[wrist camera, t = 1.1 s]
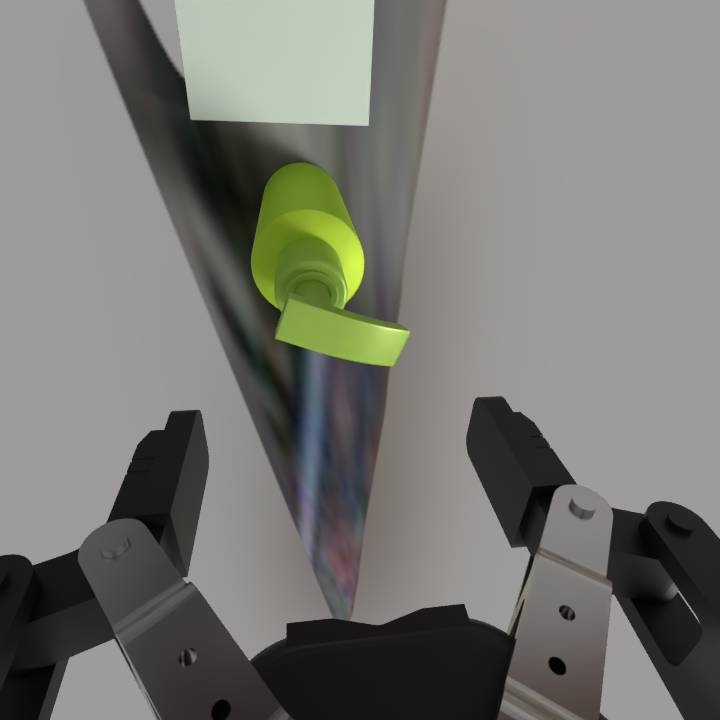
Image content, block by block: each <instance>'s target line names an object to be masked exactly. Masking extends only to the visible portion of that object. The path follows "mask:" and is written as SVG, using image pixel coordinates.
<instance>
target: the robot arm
mask: <svg viewBox="0 0 720 720" xmlns="http://www.w3.org/2000/svg"><path fill="white" fill-rule="evenodd" d="M466 438H467V439H466V444H467V451H468V455H469V457H470V459H471V462H472V464H473V466H474V468H475V470H476V472H477V474H478V477H479V479H480V481H481V483H482V485H483V488H484V489H485V492H486V494H487V496H488V498H489V500H490V503H491V505H492V507H493V509H494V511H495V513H496V515H497V518H498V520H499V522H500V524H501V526H502V528H503V530H504V533H505V535H506V537H507V539H508V541H509V543H510V545H511V547H512V548H515V547H526V546H527V548H528V550H529V552H530V557H529V560H528V563H527V566H526V569H525V573H524V576H523V580H522V583H521V587H520V590H519V594H518V597H517V601H516V604H515V608H514V611H513V615H512V618H511V621H510V624H509V627H508V630H507V633H505V632H504V631H502V630H500V629H498V628H496V627H495V626H492V625H490V624H487V623H485V622H482V621H478V620H475V619H470V618H469V617H468V615H467V611H466V608H465V605H464V604H458V605H449V606H440V607H432V608H423V609H420V610H417V611H415V612H412V613H410V614H408V615H405V616H403V617H400V618H398V619H395V620H393V621H390V622H388V623H386V624H383V625H371V624H365V623H358V622H352V621H345V620H339V619H323V620H313V621H304V622H295V623H287V638H285V639H283V640H280V641H278V642H276V643H274V644H272V645H270V646H269V647H267V648H265V649H264V650H263V651H261V652H260V653H258V654H257V655H256V656H255V657H254V658H252V659H251V660H250V661H249V660H248V658H247V657H246V656H245V654H244V653H243V652H242V650H241V649H240V647H239V646H238V645H237V643H236V642H235V641H234V639H233V638H232V636H231V635H230V633H229V632H228V631H227V629H226V628H225V626H224V625H223V624H222V622H221V621H220V619H219V618H218V617H217V615H216V614H215V612H214V611H213V610H212V608H211V607H210V605H209V604H208V603H207V601H206V600H205V598H204V597H203V596H202V594H201V593H200V591H199V590H198V589H197V587H195V585H194V584H193V583H191V582H189V583H188V584H187V583H186V582H185V581H184V580H183V577H187V575H188V571H189V566H190V560H191V555H192V550H193V545H194V540H195V535H196V530H197V525H198V520H199V515H200V510H201V505H202V500H203V495H204V490H205V485H206V480H207V475H208V468H209V455H208V447H207V441H206V436H205V431H204V425H203V419H202V414H201V411H200V410H189V411H188V410H186V411H172V412H171V413H170V415H169V418H168V421H167V424H166V426H165V430H155V431H150V433H148V435H147V436H146V437H145V438H144V439H143V440H142V441H141V442H140V443H139V444H138V445H137V448H136V450H135V453H134V455H133V458H132V462H131V463H130V465H129V468H128V470H127V475H125V478H124V481H123V483H122V485H121V488H120V490H119V493H118V496H117V498H116V501H115V503H114V506H113V508H112V510H111V513H110V516H109V518H108V520H107V522H106V524H104V525H102V526H100V527H99V528H97V529H96V530H94V531H93V532H92V533H91V534H90V535H89V536H88V537H87V538H86V539H85V540H84V542H83V544H82V545H81V547H80V548H79V549H78V550H75V551H73V552H71V553H68V554H65V555H62V556H59V557H57V558H54V559H51V560H48V561H45V562H42V563H39V564H36V565H32V564H31V562H30V561H29V560H28V559H27V558H26V557H24V556H21V555H14V554H12V555H3V556H0V720H50V717H51V714H52V711H53V707H54V704H55V701H56V698H57V695H58V692H59V688H60V685H61V682H62V679H63V676H64V672H65V669H66V666H67V663H68V660H69V657H71V656H74V655H76V654H78V653H81V652H83V651H85V650H88V649H91V648H93V647H95V646H98V645H100V644H102V643H105V642H107V641H109V640H112V639H115V641H116V643H117V645H118V647H119V649H120V651H121V653H122V655H123V657H124V658H125V661H126V663H127V664H128V666H129V668H130V670H131V672H132V674H133V676H134V678H135V680H136V682H137V684H138V686H139V688H140V690H141V692H142V693H143V696H144V698H145V699H146V701H147V703H148V705H149V707H150V709H151V712H152V714H153V716H154V718H155V720H608V719H607V718H605V717H604V716H603V715H602V714H601V713H600V702H601V694H602V684H603V674H604V665H605V655H606V646H607V636H608V626H609V617H610V607H611V606H610V605H611V597H612V594H613V595H615V596H616V598H617V600H618V601H619V604H620V605H621V607H622V609H623V611H624V613H625V614H626V616H627V618H628V620H629V622H630V623H631V625H632V627H633V629H634V630H635V632H636V634H637V636H638V638H639V639H640V641H641V643H642V645H643V647H644V648H645V650H646V652H647V654H648V656H649V657H650V659H651V661H652V663H653V664H654V666H655V668H656V670H657V672H658V673H659V675H660V677H661V679H662V681H663V682H664V684H665V686H666V688H667V690H668V691H669V693H670V695H671V697H672V698H673V700H674V702H675V704H676V705H677V707H678V709H679V711H680V713H681V715H682V717H683V718H684V720H720V539H719V538H718V537H717V535H715V533H714V532H713V531H712V529H711V528H710V527H709V526H708V525H707V524H706V523H705V522H704V521H703V519H702V518H700V517H699V516H698V515H697V514H695V513H694V512H692V511H691V510H689V509H687V508H685V507H683V506H681V505H678V504H675V503H672V502H665V501H660V502H655V503H652V504H651V505H650V506H649V507H648V509H647V511H646V512H645V514H641V513H635V512H630V511H625V510H620V509H615V508H611V507H610V506H609V504H608V503H607V502H606V501H605V499H604V498H603V497H601V496H600V495H599V494H597V493H596V492H594V491H592V490H591V489H588V488H586V487H583V486H579V485H577V484H576V482H575V481H574V479H573V478H572V477H571V475H570V474H569V472H568V471H567V469H566V468H565V467H564V465H563V464H562V462H561V461H560V460H559V458H558V456H557V455H556V454H555V452H554V451H553V449H552V448H550V445H549V444H548V442H547V441H546V439H545V438H543V435H542V433H541V432H540V430H539V429H538V428H537V426H536V425H535V423H534V422H533V421H531V420H530V419H529V418H527V417H526V416H525V415H523V414H522V413H521V412H513V411H512V410H511V408H510V406H509V405H508V403H507V402H506V400H505V399H504V398H503V397H502V396H498V397H497V396H496V397H478V398H476V399H475V401H474V404H473V409H472V414H471V419H470V423H469V428H468V432H467V437H466ZM678 591H680V592H681V594H682V595H683V596H684V598H685V600H686V601H687V603H688V604H689V605H690V607H691V608H692V610H693V611H694V613H695V614H696V616H697V617H698V620H699V622H700V623H699V622H698V620H697V619H696V618H695V616H694V615H693V613H692V612H691V610H690V609H689V607H688V606H687V604H686V603H685V601H684V600H683V599H682V597H681V596H680V594H679V593H678Z"/></svg>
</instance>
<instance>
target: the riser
mask: <svg viewBox="0 0 720 720" xmlns="http://www.w3.org/2000/svg"><path fill="white" fill-rule="evenodd" d="M174 3H175V10H176V17H177V24H178V32H179V39H180V47H181V53H182V61H183V68H184V76H185V83H186V90H187V97H188V104H189V112H190V119H191V120H213V121H243V122H273V123H303V124H333V125H363V126H369V104H370V83H371V61H372V40H373V18H374V0H174Z"/></svg>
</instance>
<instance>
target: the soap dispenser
mask: <svg viewBox="0 0 720 720" xmlns="http://www.w3.org/2000/svg"><path fill="white" fill-rule="evenodd" d="M251 268H252V274H253V277H254V280H255V283H256V285H257V287H258V289H259V290H260V292H261V293H262V294H263V296H264V297H265V298H266V299H267V300H268V301H269V302H270V303H271V304H273V305H274V306H275V307H277V308H279V309H280V311H281V312H282V313H281V316H280V319H279V322H278V325H277V328H276V332H275V339H278V340H281V341H284V342H288V343H291V344H294V345H297V346H300V347H303V348H307V349H310V350H313V351H317V352H320V353H323V354H327V355H331V356H334V357H338V358H342V359H346V360H351V361H356V362H361V363H367V364H374V365H383V366H393V365H394V364H395V362H396V360H397V358H398V356H399V354H400V352H401V350H402V348H403V346H404V344H405V342H406V340H407V338H408V336H409V334H410V331H409V330H408V329H406V328H405V327H403V326H402V325H400V324H395V323H390V322H385V321H381V320H377V319H373V318H369V317H366V316H362V315H359V314H356V313H352V312H349V311H346V310H343V308H344V306H345V304H346V302H347V301H348V300H349V299H350V298H351V297H352V296H353V295H354V293H355V292H356V290H357V289H358V287H359V285H360V282H361V280H362V276H363V272H364V255H363V250H362V247H361V244H360V242H359V239H358V237H357V234H356V232H355V229H354V227H353V224H352V222H351V219H350V217H349V214H348V212H347V209H346V207H345V205H344V202H343V200H342V197H341V195H340V192H339V190H338V187H337V185H336V183H335V182H334V180H333V179H332V178H331V176H330V175H329V174H328V173H327V172H326V171H324V170H323V169H321V168H320V167H318V166H316V165H313V164H309V163H303V162H298V163H292V164H288V165H286V166H283V167H282V168H280V169H279V170H277V171H276V172H275V173H274V174H273V175H272V176H271V177H270V179H269V180H268V182H267V184H266V186H265V189H264V193H263V198H262V204H261V209H260V214H259V219H258V224H257V229H256V235H255V240H254V245H253V250H252V256H251Z"/></svg>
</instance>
